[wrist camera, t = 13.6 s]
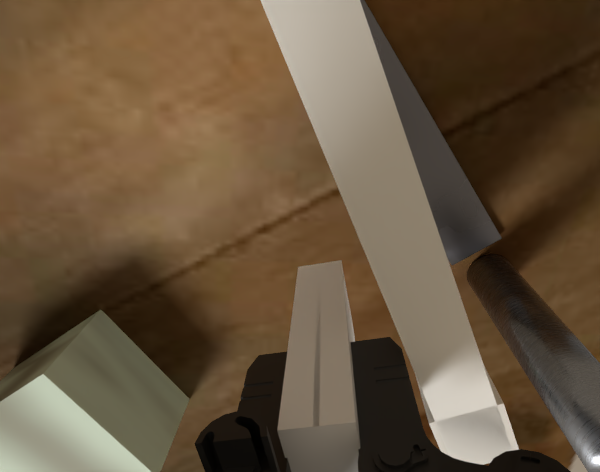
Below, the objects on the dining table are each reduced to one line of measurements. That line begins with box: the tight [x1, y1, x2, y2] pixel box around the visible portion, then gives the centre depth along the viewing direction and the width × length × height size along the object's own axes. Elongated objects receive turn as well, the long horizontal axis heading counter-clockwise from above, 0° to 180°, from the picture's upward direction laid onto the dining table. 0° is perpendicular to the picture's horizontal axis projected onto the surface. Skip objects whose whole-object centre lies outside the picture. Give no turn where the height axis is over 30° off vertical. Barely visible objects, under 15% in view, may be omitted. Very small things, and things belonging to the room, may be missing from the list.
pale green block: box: [0, 310, 189, 472], centre depth 22 cm, size 7×7×5 cm
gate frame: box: [360, 0, 600, 472], centre depth 12 cm, size 3×19×12 cm, turn 35°
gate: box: [261, 0, 519, 465], centre depth 13 cm, size 13×2×9 cm, turn 24°
